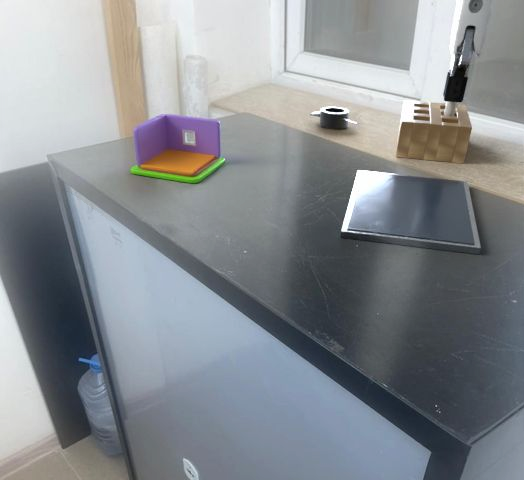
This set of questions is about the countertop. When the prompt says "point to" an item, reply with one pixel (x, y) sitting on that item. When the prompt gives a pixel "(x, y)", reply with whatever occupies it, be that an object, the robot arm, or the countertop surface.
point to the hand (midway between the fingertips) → (452, 98)
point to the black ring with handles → (333, 117)
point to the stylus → (450, 108)
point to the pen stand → (433, 132)
